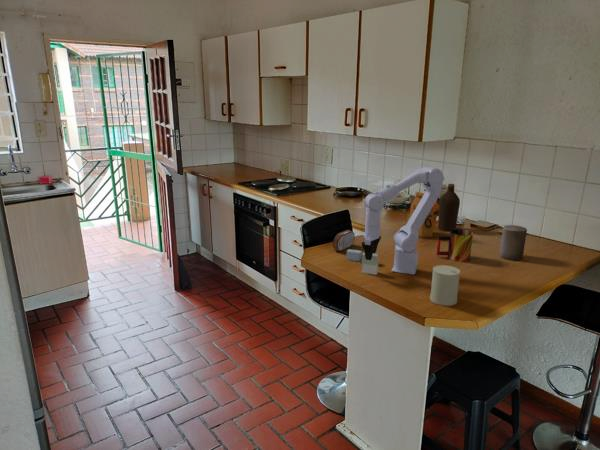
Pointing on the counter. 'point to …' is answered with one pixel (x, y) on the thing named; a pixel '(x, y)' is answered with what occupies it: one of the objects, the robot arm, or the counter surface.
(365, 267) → the grey brick
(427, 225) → the coffee package
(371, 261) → the sage brick
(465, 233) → the mug
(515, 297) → the counter surface
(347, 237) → the tin
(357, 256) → the blue brick
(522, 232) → the pillar candle
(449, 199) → the olive oil
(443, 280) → the can
